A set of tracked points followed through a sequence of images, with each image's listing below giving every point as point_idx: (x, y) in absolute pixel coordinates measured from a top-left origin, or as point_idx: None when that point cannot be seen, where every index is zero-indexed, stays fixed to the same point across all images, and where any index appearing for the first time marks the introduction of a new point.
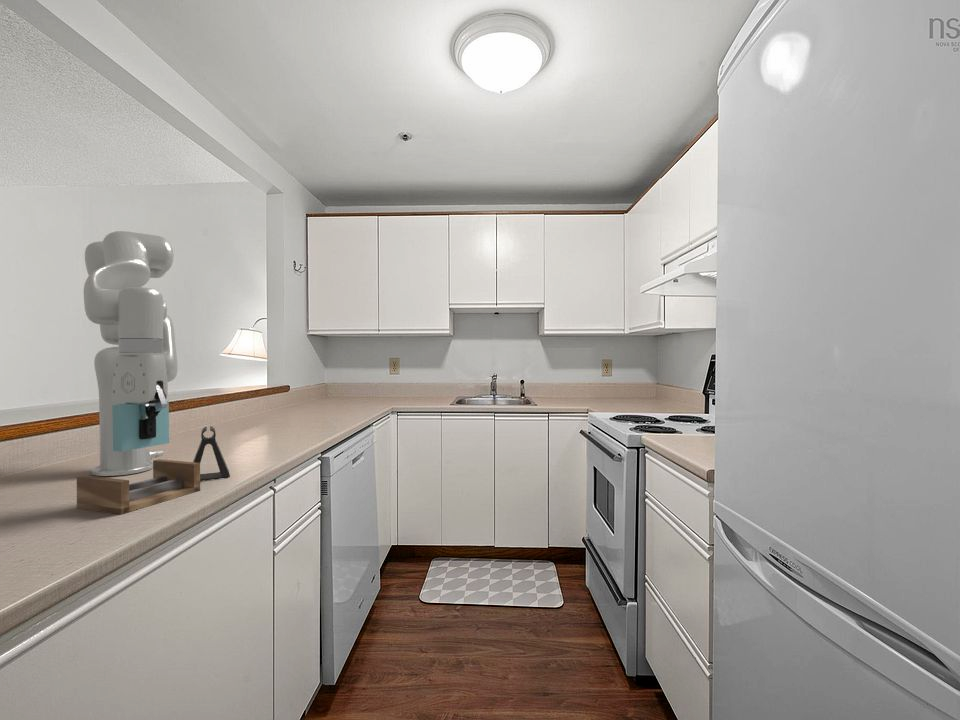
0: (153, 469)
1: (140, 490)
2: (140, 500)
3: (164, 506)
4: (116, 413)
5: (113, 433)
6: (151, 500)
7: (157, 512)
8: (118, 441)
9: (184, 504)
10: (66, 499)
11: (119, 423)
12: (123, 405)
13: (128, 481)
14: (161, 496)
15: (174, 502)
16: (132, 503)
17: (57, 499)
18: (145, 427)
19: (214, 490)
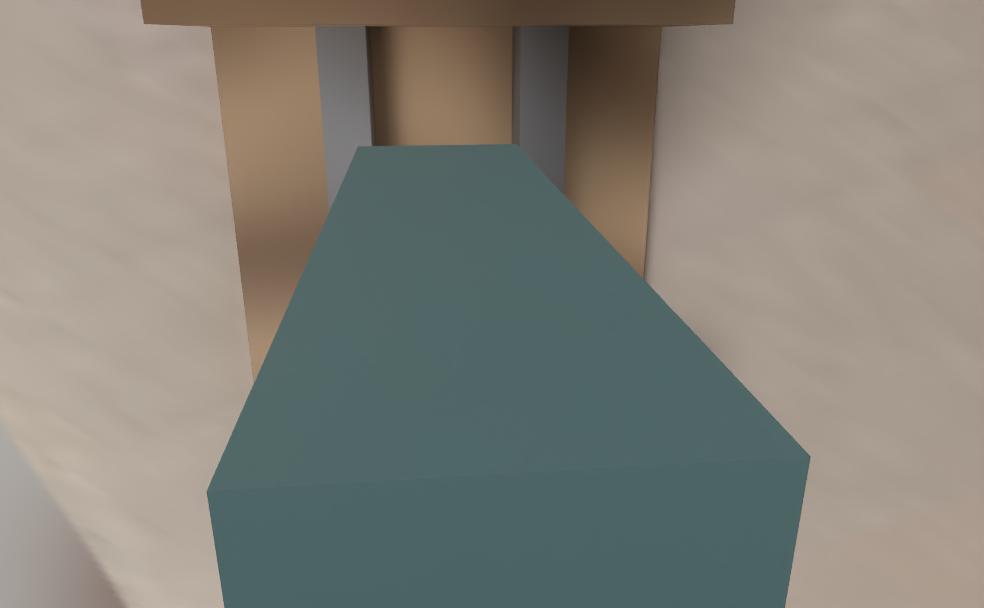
0: None
1: (330, 202)
2: (295, 162)
3: (134, 199)
4: (499, 320)
5: (541, 189)
6: (231, 192)
7: (35, 88)
8: (419, 169)
9: (57, 273)
10: (913, 88)
11: (385, 243)
12: (223, 569)
13: (146, 17)
14: (257, 276)
15: (165, 282)
16: (269, 89)
17: (972, 68)
18: None
19: (195, 538)
